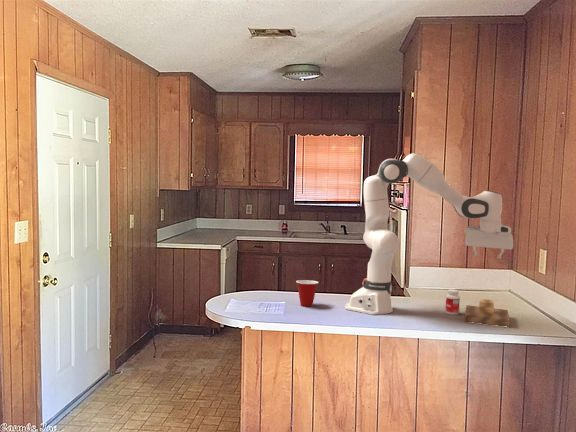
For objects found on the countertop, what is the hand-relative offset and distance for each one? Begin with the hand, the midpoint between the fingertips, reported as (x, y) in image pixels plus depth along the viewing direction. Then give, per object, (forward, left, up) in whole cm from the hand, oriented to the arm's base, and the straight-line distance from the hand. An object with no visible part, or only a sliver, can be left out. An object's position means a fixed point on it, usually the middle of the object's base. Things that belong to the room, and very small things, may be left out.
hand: (487, 257), depth 220 cm
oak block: (+1, -1, -25) cm, 25 cm away
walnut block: (+1, -1, -29) cm, 29 cm away
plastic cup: (-80, -17, -28) cm, 87 cm away
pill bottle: (-14, +2, -28) cm, 32 cm away
